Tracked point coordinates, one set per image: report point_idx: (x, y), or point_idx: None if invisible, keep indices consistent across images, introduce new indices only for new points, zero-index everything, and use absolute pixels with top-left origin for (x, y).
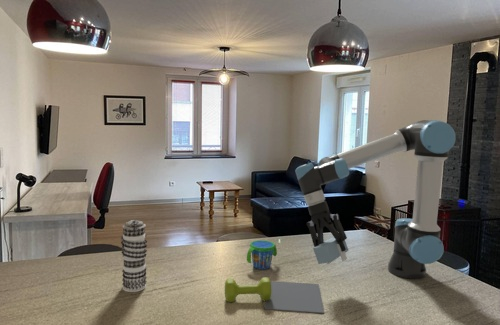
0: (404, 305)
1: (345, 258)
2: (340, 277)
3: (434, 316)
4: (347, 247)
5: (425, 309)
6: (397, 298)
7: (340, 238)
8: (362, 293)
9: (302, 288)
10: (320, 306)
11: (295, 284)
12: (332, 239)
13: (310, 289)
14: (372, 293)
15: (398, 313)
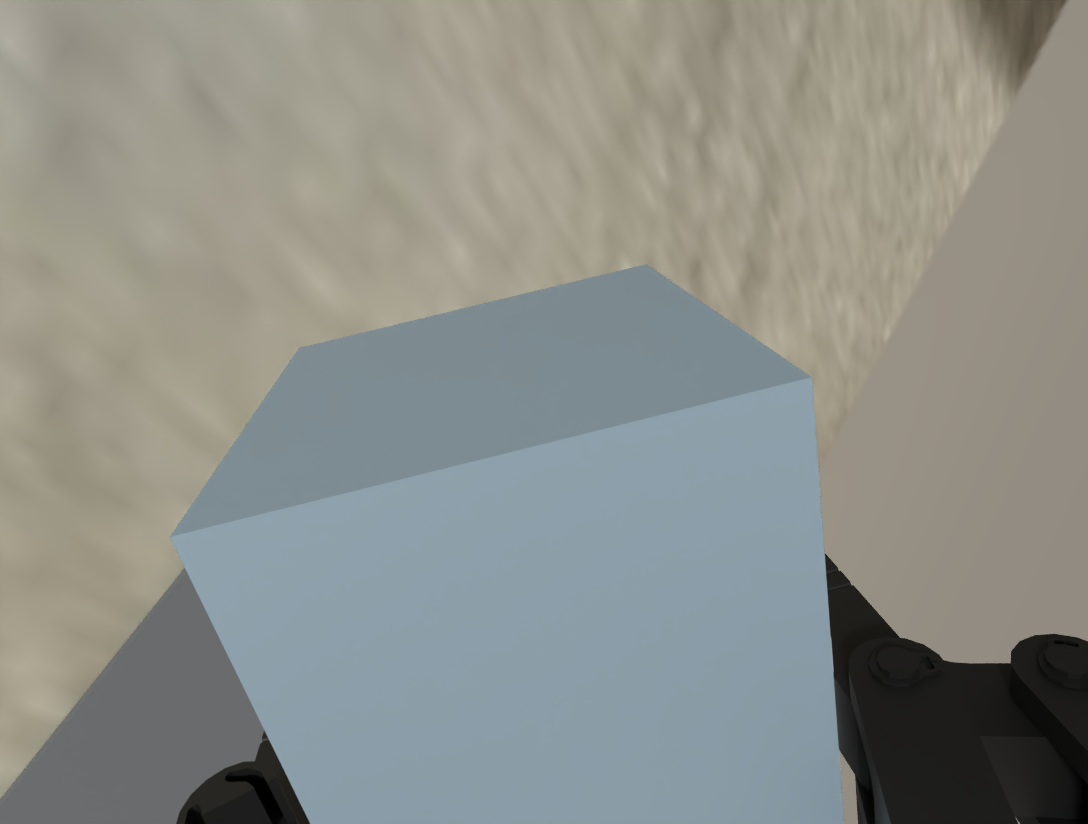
0: (833, 157)
1: None
2: (158, 106)
3: (959, 140)
4: (666, 280)
5: (917, 90)
6: (772, 84)
7: (938, 744)
8: (580, 263)
9: (210, 768)
10: None
11: (68, 809)
12: (584, 754)
13: None
14: (627, 180)
15: (845, 302)
